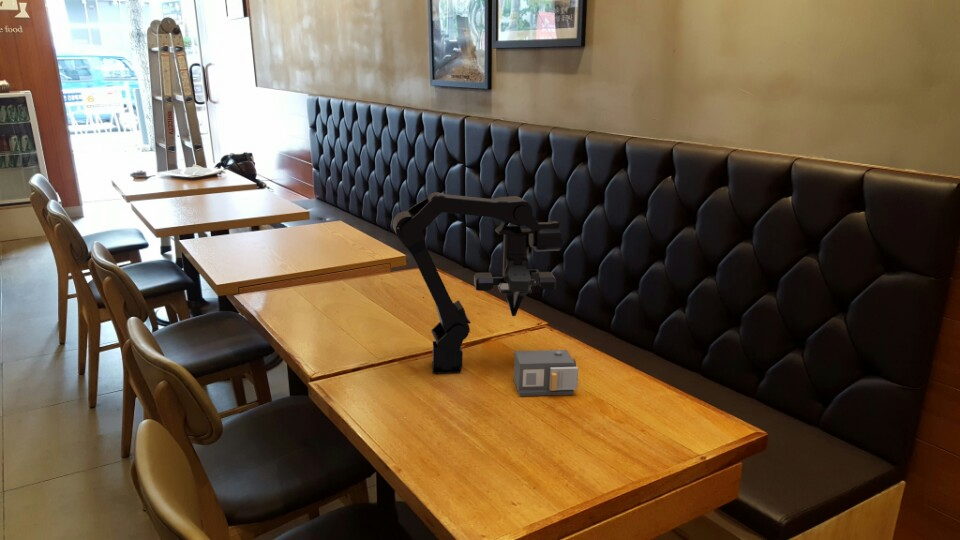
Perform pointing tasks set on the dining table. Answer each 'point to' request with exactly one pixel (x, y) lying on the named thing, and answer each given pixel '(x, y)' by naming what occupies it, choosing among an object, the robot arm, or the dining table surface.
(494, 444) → the dining table surface
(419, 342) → the dining table surface
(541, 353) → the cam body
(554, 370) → the side door
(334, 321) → the dining table surface
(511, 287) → the robot arm
